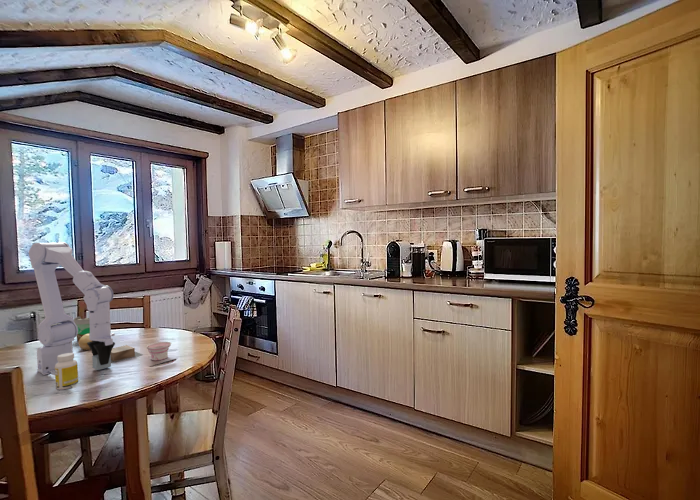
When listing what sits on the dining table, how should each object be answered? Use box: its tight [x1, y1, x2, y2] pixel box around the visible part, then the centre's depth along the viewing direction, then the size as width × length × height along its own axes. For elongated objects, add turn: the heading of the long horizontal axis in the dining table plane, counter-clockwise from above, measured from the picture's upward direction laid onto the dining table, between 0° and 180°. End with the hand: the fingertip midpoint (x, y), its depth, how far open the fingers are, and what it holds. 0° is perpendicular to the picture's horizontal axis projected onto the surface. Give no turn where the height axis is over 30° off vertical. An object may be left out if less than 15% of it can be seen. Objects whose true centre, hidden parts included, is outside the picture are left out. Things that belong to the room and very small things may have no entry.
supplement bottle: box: [54, 352, 79, 391], centre depth 109 cm, size 5×5×10 cm
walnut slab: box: [110, 344, 136, 361], centre depth 134 cm, size 7×7×3 cm
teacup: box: [146, 341, 178, 368], centre depth 131 cm, size 12×12×6 cm
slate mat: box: [111, 351, 144, 364], centre depth 134 cm, size 12×10×1 cm
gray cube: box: [91, 355, 112, 371], centre depth 121 cm, size 4×4×4 cm
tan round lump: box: [77, 334, 91, 351], centre depth 149 cm, size 8×8×7 cm
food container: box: [73, 316, 90, 342], centre depth 162 cm, size 12×6×10 cm, turn 73°
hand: (101, 362), depth 121 cm, fingers closed on gray cube, 4 cm apart
